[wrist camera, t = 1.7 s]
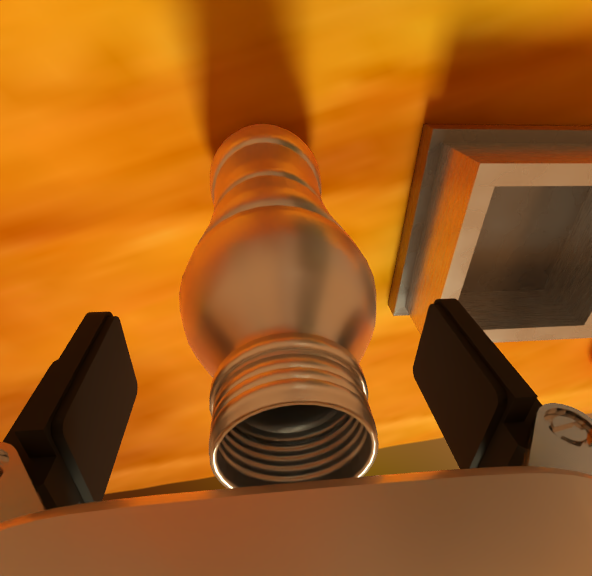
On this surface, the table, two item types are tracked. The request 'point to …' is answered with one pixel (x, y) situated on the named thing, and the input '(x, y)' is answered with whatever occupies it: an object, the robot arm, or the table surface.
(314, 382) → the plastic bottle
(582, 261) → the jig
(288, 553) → the robot arm
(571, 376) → the table surface
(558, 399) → the table surface
